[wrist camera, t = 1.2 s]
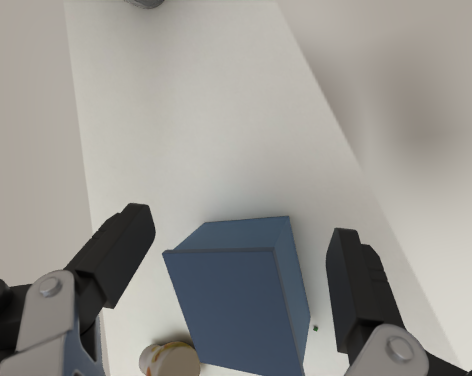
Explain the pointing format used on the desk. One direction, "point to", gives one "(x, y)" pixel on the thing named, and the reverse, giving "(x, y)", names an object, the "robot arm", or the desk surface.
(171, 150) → the desk surface
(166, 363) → the patterned salt shaker
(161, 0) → the cup
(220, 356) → the container
